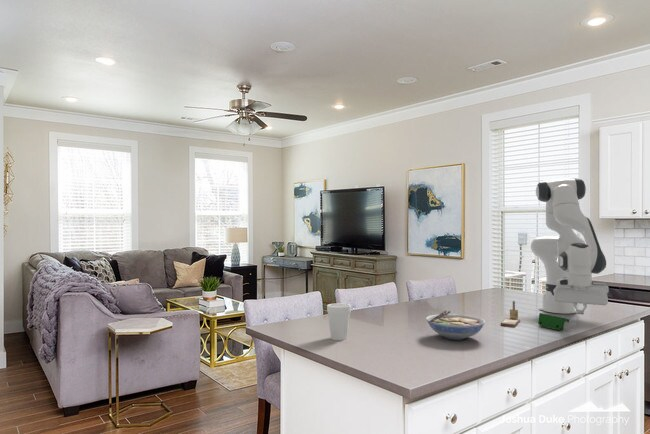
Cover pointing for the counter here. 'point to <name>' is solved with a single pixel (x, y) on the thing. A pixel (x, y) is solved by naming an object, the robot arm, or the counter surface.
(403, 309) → the counter surface
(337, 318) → the foam cup
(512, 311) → the awl
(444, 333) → the ramen bowl
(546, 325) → the clamp
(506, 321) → the bandage strip
